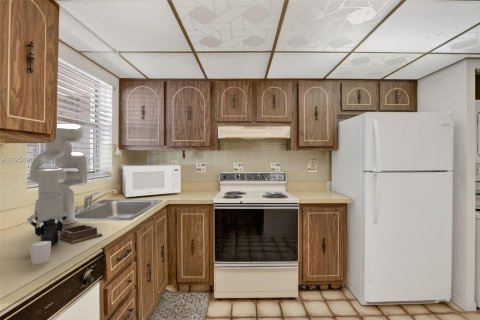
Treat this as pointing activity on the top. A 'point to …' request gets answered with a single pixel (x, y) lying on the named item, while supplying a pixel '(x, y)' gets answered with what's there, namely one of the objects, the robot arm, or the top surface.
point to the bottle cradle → (78, 233)
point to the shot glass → (40, 252)
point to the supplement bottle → (49, 231)
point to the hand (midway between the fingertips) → (49, 233)
